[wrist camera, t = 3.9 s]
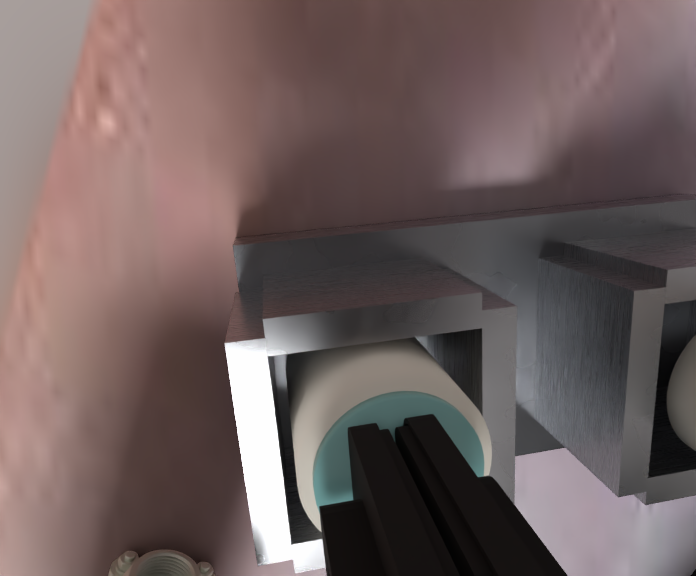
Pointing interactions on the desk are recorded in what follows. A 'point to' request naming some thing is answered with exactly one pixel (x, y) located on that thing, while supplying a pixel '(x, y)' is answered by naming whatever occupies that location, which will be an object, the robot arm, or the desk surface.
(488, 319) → the mount
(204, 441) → the desk surface
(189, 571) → the pneumatic valve
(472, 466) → the left knob
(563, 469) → the desk surface
